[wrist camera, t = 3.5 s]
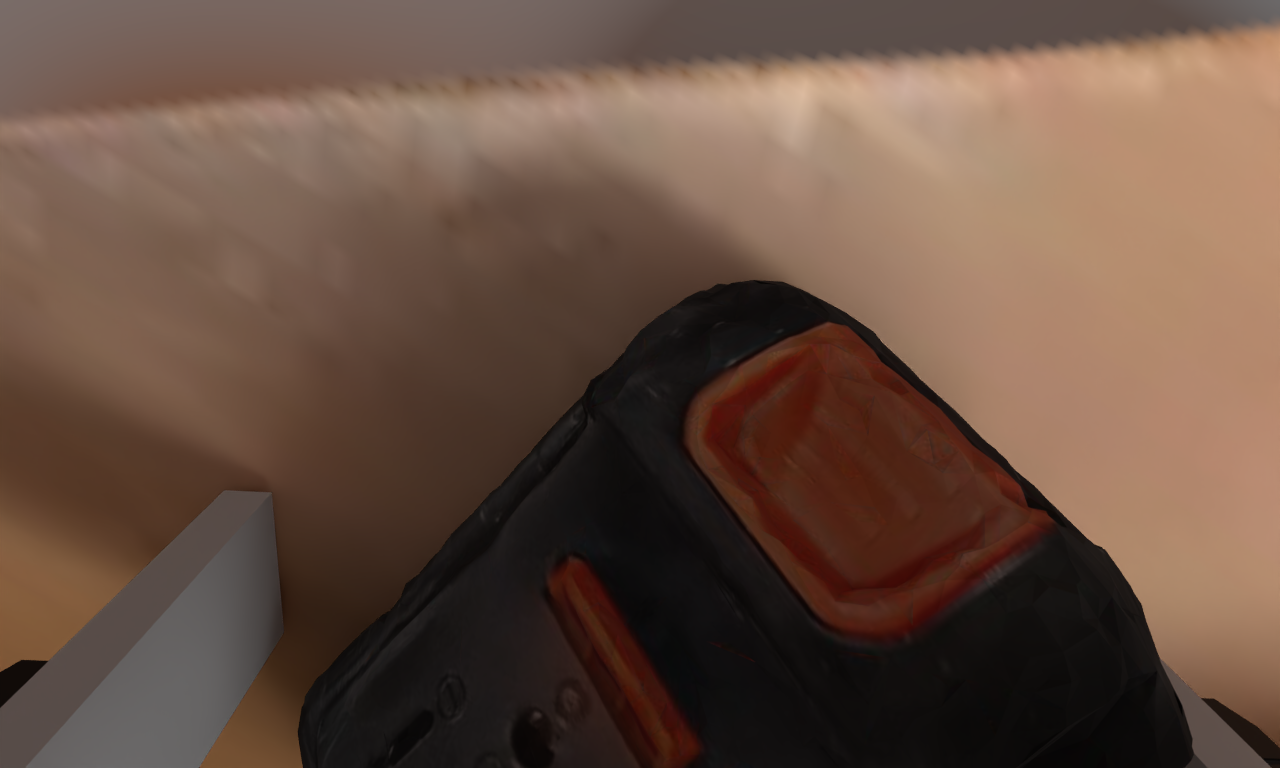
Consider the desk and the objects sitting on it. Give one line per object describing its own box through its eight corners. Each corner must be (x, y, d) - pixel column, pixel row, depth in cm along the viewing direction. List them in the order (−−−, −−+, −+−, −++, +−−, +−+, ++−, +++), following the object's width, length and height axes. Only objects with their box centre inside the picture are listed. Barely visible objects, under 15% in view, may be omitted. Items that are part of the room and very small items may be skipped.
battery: (908, 328, 14) (709, 120, 9) (1318, 778, 9) (1409, 905, 4) (488, 676, 18) (169, 675, 13) (631, 1131, 13) (213, 1437, 8)
